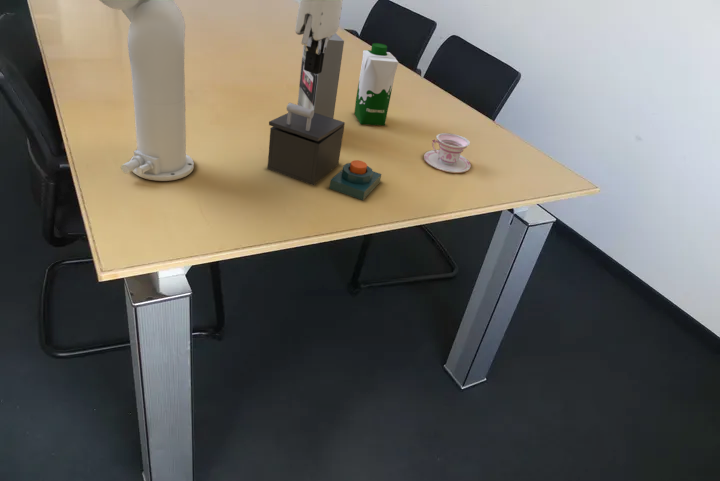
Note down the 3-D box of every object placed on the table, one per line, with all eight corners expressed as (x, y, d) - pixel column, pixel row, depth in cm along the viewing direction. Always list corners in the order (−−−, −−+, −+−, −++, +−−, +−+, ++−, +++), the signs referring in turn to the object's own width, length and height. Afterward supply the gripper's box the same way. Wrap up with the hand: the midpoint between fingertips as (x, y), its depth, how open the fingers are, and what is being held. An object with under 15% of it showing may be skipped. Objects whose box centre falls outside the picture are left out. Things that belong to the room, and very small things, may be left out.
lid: (318, 141, 115) (321, 116, 112) (268, 125, 118) (271, 100, 115) (344, 125, 126) (348, 102, 123) (298, 110, 129) (301, 88, 126)
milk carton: (379, 114, 162) (392, 44, 151) (388, 127, 155) (403, 54, 144) (350, 112, 159) (361, 41, 148) (358, 126, 152) (371, 52, 141)
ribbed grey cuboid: (292, 119, 149) (302, 22, 135) (314, 119, 151) (326, 23, 138) (307, 142, 139) (319, 39, 125) (330, 142, 141) (344, 41, 127)
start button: (362, 176, 121) (363, 169, 120) (346, 171, 122) (348, 164, 121) (368, 170, 124) (369, 163, 123) (353, 165, 124) (354, 158, 123)
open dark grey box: (313, 185, 121) (319, 144, 116) (267, 169, 124) (270, 127, 119) (338, 164, 132) (344, 125, 126) (294, 149, 134) (298, 111, 129)
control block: (362, 200, 120) (366, 184, 117) (329, 188, 122) (331, 172, 119) (379, 182, 127) (383, 166, 125) (348, 171, 129) (350, 156, 127)
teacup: (465, 155, 148) (471, 133, 144) (474, 176, 138) (481, 153, 134) (420, 149, 146) (426, 127, 143) (426, 170, 137) (432, 147, 133)
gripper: (327, -34, 110) (313, 59, 120) (288, -30, 98) (277, 73, 108) (361, -24, 108) (344, 69, 118) (326, -19, 96) (311, 85, 106)
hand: (312, 71), depth 113 cm, fingers closed
